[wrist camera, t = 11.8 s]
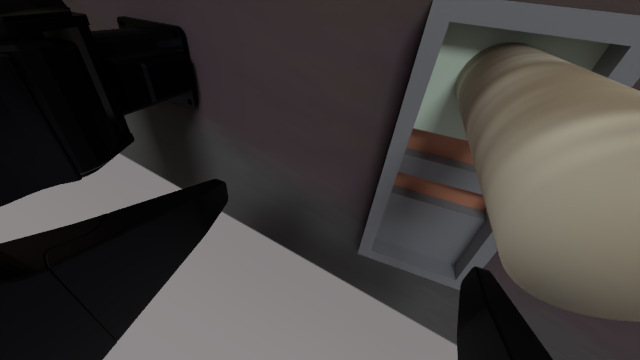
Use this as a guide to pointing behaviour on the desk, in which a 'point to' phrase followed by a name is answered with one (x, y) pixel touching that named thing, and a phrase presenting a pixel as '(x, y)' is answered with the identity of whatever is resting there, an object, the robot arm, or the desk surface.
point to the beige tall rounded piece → (558, 176)
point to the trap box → (449, 134)
